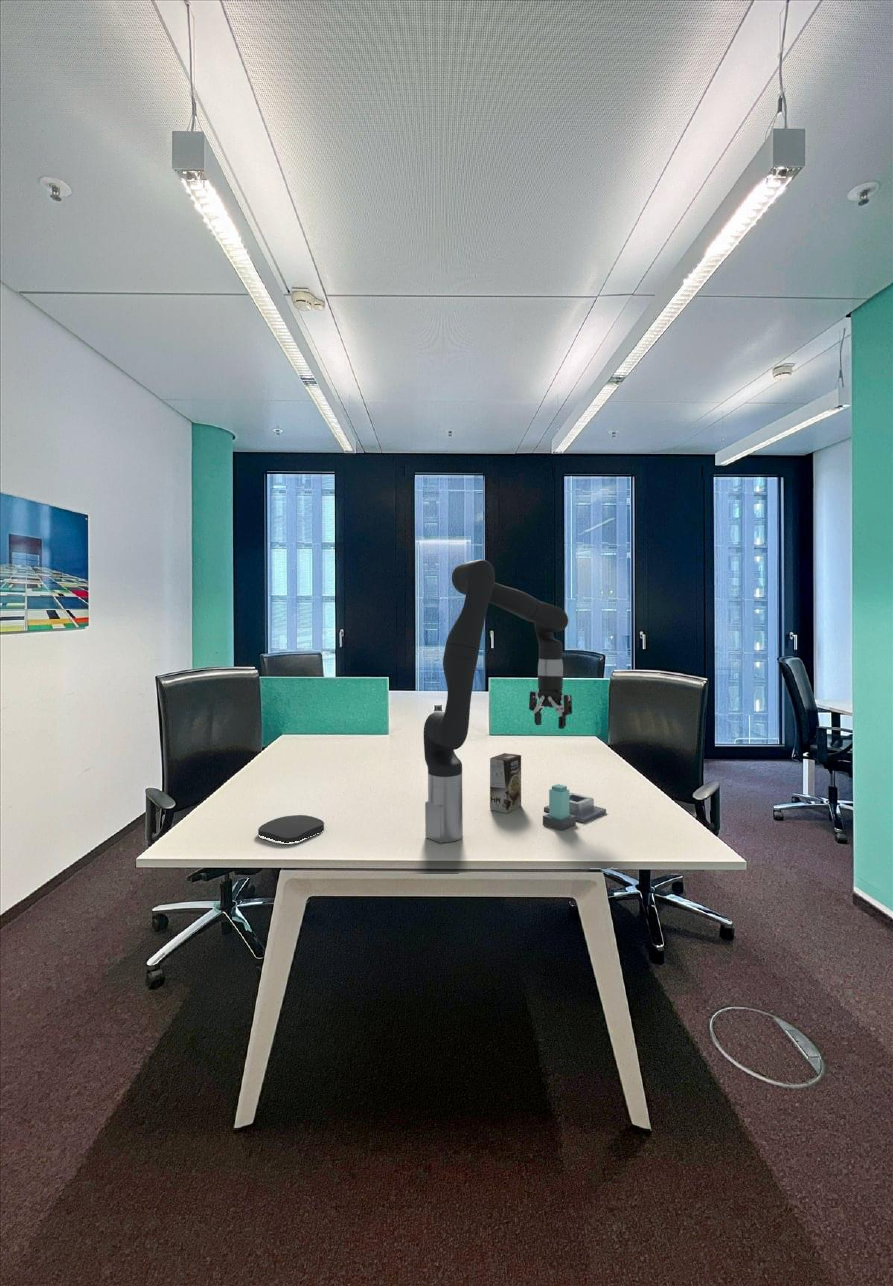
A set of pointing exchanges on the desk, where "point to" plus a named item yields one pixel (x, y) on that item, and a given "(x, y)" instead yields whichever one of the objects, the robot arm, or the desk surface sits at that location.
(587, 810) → the grey stepped base
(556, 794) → the plug
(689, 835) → the desk surface
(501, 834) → the desk surface
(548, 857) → the desk surface
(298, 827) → the media streaming box
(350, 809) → the desk surface
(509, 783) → the coffee box
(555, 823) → the dark grey square tray
